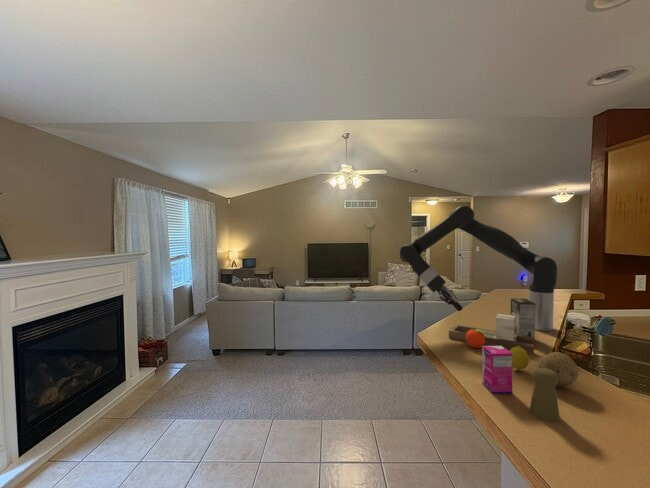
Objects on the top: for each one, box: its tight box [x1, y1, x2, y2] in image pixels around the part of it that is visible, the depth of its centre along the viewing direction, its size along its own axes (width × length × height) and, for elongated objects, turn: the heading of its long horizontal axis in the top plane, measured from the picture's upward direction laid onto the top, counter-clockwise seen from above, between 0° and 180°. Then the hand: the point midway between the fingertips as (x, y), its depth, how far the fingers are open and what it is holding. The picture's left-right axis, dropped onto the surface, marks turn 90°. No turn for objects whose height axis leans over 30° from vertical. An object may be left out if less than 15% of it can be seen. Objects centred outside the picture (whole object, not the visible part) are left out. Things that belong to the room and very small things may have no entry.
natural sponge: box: [538, 351, 579, 389], centre depth 87 cm, size 9×9×10 cm
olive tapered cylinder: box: [528, 367, 561, 423], centre depth 74 cm, size 6×6×11 cm
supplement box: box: [481, 345, 513, 395], centre depth 86 cm, size 6×6×12 cm
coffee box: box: [509, 297, 536, 337], centre depth 127 cm, size 9×6×16 cm
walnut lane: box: [448, 324, 536, 355], centre depth 124 cm, size 11×30×3 cm, turn 54°
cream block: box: [495, 313, 515, 340], centre depth 121 cm, size 6×6×8 cm
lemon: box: [508, 346, 530, 372], centre depth 97 cm, size 6×6×8 cm
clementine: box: [465, 329, 488, 349], centre depth 117 cm, size 8×7×7 cm
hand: (461, 309), depth 131 cm, fingers closed
